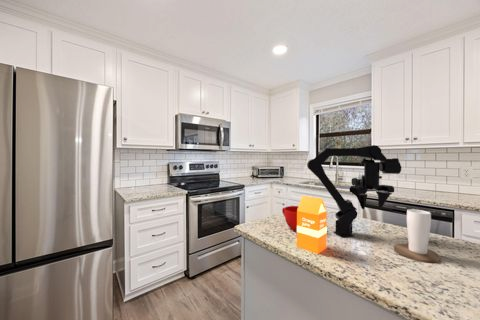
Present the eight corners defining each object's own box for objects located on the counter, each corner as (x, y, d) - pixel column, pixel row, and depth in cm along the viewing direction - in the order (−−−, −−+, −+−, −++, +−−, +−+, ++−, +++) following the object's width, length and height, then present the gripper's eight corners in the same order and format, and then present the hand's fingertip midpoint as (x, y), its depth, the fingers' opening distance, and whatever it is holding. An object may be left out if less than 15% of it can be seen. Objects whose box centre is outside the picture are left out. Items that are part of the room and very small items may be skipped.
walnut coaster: (420, 264, 69) (420, 261, 69) (385, 247, 81) (385, 245, 81) (450, 260, 71) (450, 257, 71) (411, 244, 84) (411, 242, 84)
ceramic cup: (291, 221, 114) (291, 203, 114) (316, 230, 100) (317, 210, 100) (273, 225, 108) (273, 206, 108) (298, 235, 93) (298, 214, 93)
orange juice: (305, 241, 87) (306, 194, 87) (326, 247, 81) (327, 197, 81) (296, 246, 82) (296, 196, 82) (317, 254, 76) (318, 200, 75)
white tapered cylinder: (435, 257, 72) (436, 214, 72) (413, 255, 73) (414, 213, 73) (421, 248, 79) (422, 209, 78) (401, 247, 80) (402, 208, 79)
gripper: (374, 171, 102) (374, 203, 102) (341, 172, 98) (341, 205, 98) (395, 173, 91) (395, 208, 91) (359, 174, 87) (359, 211, 87)
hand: (371, 208), depth 92 cm, fingers open, 9 cm apart
